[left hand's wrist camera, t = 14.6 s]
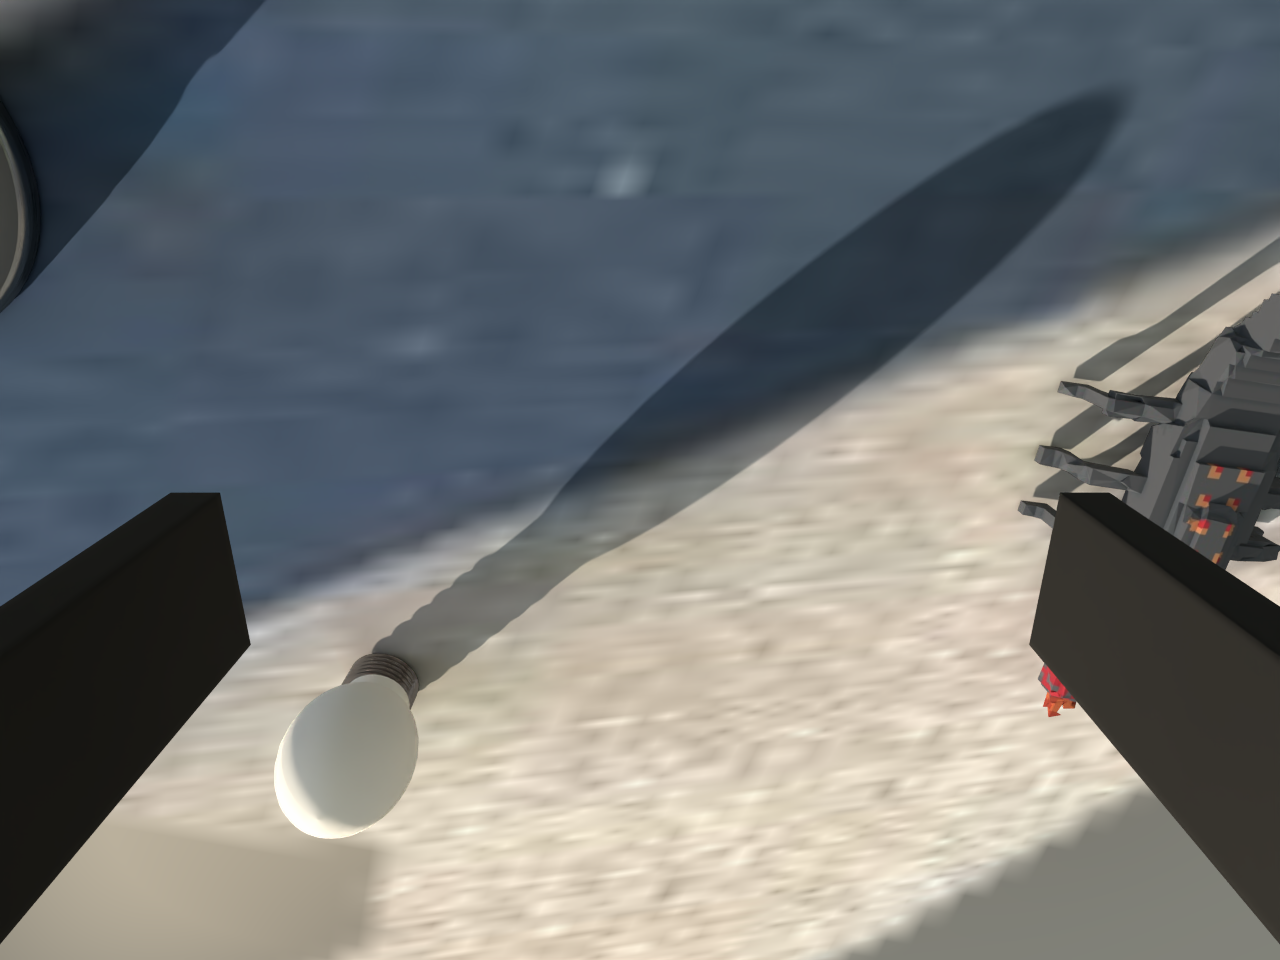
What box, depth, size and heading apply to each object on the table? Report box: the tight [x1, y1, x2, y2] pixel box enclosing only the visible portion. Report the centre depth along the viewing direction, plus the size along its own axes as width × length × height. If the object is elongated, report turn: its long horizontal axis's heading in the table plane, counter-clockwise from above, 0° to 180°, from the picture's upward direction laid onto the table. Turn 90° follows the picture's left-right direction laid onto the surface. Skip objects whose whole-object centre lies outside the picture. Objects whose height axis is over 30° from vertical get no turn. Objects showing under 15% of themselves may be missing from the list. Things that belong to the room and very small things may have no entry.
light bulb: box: [274, 654, 419, 838], centre depth 42 cm, size 7×7×11 cm
